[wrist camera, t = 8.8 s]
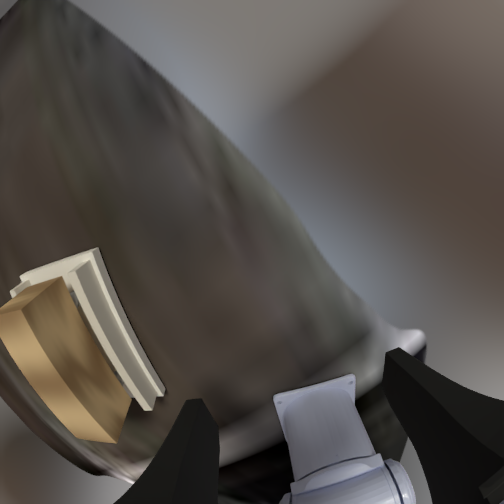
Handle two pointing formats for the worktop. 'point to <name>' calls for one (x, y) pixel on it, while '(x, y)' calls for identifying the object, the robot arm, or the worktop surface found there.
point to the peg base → (103, 321)
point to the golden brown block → (63, 361)
